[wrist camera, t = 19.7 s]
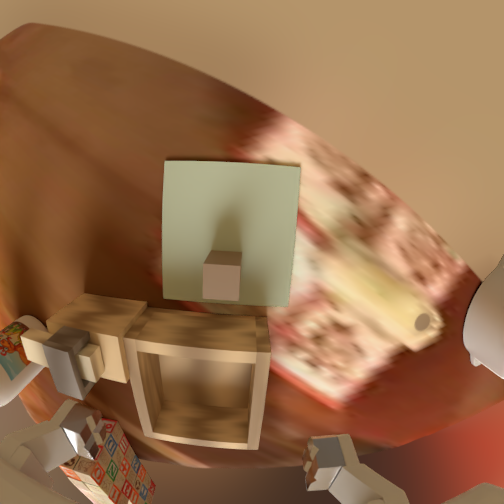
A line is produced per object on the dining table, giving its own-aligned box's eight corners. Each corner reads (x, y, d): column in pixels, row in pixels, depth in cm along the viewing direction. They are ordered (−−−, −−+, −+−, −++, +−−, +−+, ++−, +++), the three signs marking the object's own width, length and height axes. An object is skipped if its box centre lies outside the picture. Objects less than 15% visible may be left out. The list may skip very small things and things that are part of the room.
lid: (298, 168, 26) (312, 162, 21) (286, 303, 29) (295, 329, 24) (167, 161, 26) (147, 155, 20) (165, 295, 29) (148, 319, 23)
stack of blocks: (157, 485, 38) (145, 531, 26) (129, 480, 38) (115, 523, 26) (117, 419, 33) (89, 477, 21) (86, 413, 33) (55, 464, 21)
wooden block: (99, 345, 21) (89, 357, 19) (104, 370, 22) (96, 382, 20) (31, 327, 21) (20, 335, 19) (37, 350, 21) (27, 359, 19)
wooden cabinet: (267, 311, 29) (276, 382, 17) (256, 409, 32) (258, 482, 21) (83, 293, 29) (23, 338, 17) (103, 387, 32) (68, 443, 20)
